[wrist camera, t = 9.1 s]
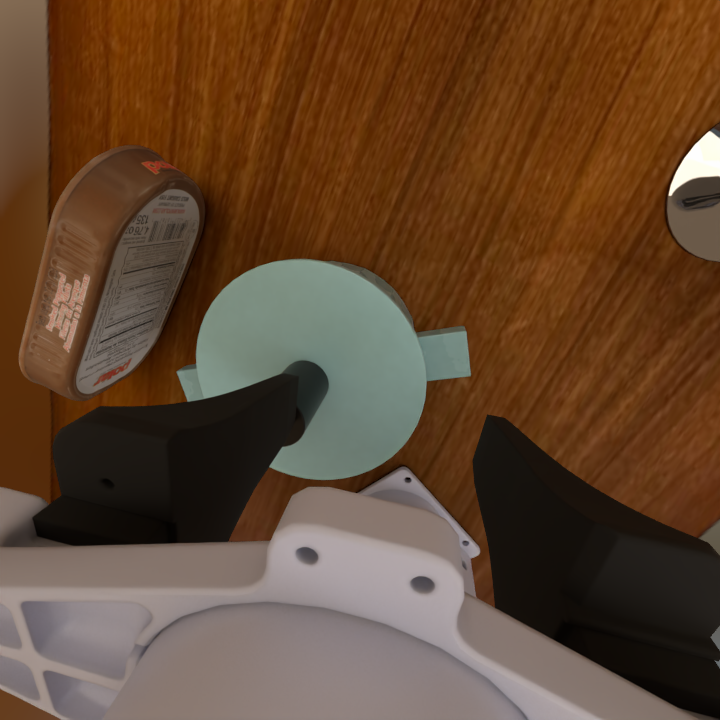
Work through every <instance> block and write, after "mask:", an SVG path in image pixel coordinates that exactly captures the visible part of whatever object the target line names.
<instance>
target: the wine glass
mask: <svg viewBox="0 0 720 720" xmlns="http://www.w3.org/2000/svg"><path fill="white" fill-rule="evenodd" d="M666 218H667V224H668V226H669V229H670V232H671V234H672V236H673V237H674V239H675V240H676V242H677V243H678V244H679V245H680V246H681V247H682V248H683V249H684V250H685V251H687V252H688V253H690V254H692V255H694V256H695V257H698V258H701V259H704V260H707V261H714V262H720V122H719V123H718V124H717V125H715V126H714V127H713V128H711V129H710V130H709V131H707V132H706V133H705V134H704V135H703V136H702V137H701V138H700V139H699V140H698V141H697V142H696V143H695V144H694V145H693V146H692V147H691V148H690V150H689V151H688V152H687V153H686V155H685V156H684V157H683V159H682V160H681V162H680V164H679V166H678V167H677V169H676V171H675V173H674V175H673V178H672V180H671V182H670V185H669V189H668V193H667V198H666Z"/></svg>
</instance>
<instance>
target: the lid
mask: <svg viewBox="0 0 720 720" xmlns="http://www.w3.org/2000/svg"><path fill="white" fill-rule="evenodd" d="M196 368H197V374H198V380H199V384H200V387H201V390H202V394H203V396H204V399H206V398H210V397H215V396H218V395H222V394H226V393H229V392H232V391H235V390H238V389H241V388H244V387H247V386H250V385H252V384H255V383H258V382H260V381H263V380H265V379H268V378H271V377H273V376H276V375H279V374H283V373H286V374H291V375H296V376H299V383H298V395H297V406H296V417H295V423H294V425H293V427H292V430H291V432H290V434H289V436H288V438H287V440H286V442H285V443H284V445H283V447H282V448H281V450H280V451H279V453H278V454H277V456H276V457H275V459H274V460H273V462H272V463H271V465H270V466H269V467H271V468H273V469H275V470H277V471H280V472H283V473H286V474H289V475H292V476H296V477H301V478H306V479H315V480H334V479H343V478H348V477H352V476H356V475H359V474H362V473H365V472H367V471H370V470H372V469H374V468H376V467H377V466H379V465H381V464H383V463H384V462H385V461H387V460H388V459H390V458H391V457H392V456H393V455H394V454H396V453H397V452H398V451H399V450H400V449H401V448H402V447H403V445H404V444H405V443H406V442H407V440H408V439H409V438H410V436H411V435H412V433H413V431H414V429H415V428H416V426H417V424H418V421H419V419H420V416H421V414H422V411H423V406H424V402H425V397H426V383H427V381H426V367H425V361H424V356H423V351H422V348H421V345H420V342H419V340H418V337H417V334H416V332H415V330H414V329H413V327H412V325H411V323H410V321H409V319H408V318H407V317H406V315H405V314H404V312H403V311H402V310H401V308H400V307H399V306H398V305H397V303H396V302H395V301H394V300H393V299H392V298H391V297H390V296H389V295H388V294H387V293H386V292H385V291H383V290H382V289H381V288H380V287H378V286H377V285H376V284H375V283H373V282H372V281H370V280H369V279H367V278H365V277H364V276H362V275H361V274H359V273H357V272H354V271H352V270H350V269H348V268H346V267H343V266H340V265H337V264H333V263H330V262H326V261H320V260H313V259H289V260H281V261H275V262H272V263H268V264H265V265H261V266H258V267H256V268H254V269H252V270H249V271H247V272H245V273H244V274H242V275H241V276H239V277H237V278H236V279H234V280H233V281H232V282H231V283H230V284H228V285H227V286H226V287H225V288H224V289H223V290H222V291H221V292H220V293H219V295H218V296H217V297H216V298H215V300H214V301H213V302H212V304H211V306H210V307H209V309H208V311H207V312H206V314H205V317H204V319H203V322H202V324H201V327H200V331H199V335H198V339H197V349H196Z"/></svg>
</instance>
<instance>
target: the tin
mask: <svg viewBox="0 0 720 720" xmlns="http://www.w3.org/2000/svg"><path fill="white" fill-rule="evenodd" d="M204 220H205V202H204V198H203V195H202V192H201V190H200V189H199V187H198V186H197V184H196V183H195V182H194V181H193V180H192V179H190V178H189V177H188V176H187V175H185V174H184V173H183V172H181V171H180V170H178V169H176V168H175V167H173V166H172V165H170V164H169V163H167V162H166V161H164V160H163V158H162V157H161V156H160V155H158V154H157V153H156V152H154V151H153V150H151V149H149V148H146V147H143V146H137V145H126V146H120V147H117V148H113V149H111V150H109V151H106V152H104V153H102V154H100V155H99V156H97V157H95V158H94V159H92V160H91V161H90V162H89V163H87V164H86V165H85V166H84V167H83V168H82V169H81V170H80V171H79V172H78V173H77V174H76V175H75V177H74V178H73V179H72V180H71V181H70V182H69V184H68V185H67V187H66V188H65V190H64V191H63V193H62V194H61V196H60V198H59V200H58V202H57V204H56V206H55V209H54V211H53V214H52V217H51V221H50V225H49V228H48V233H47V238H46V242H45V246H44V251H43V255H42V259H41V263H40V268H39V272H38V276H37V281H36V285H35V290H34V293H33V298H32V301H31V306H30V310H29V314H28V317H27V321H26V326H25V330H24V334H23V338H22V341H21V346H20V351H19V365H20V368H21V371H22V373H23V375H24V376H25V377H26V378H27V379H29V380H30V381H32V382H34V383H37V384H42V385H44V386H45V387H47V388H49V389H51V390H53V391H55V392H56V393H58V394H60V395H62V396H64V397H67V398H69V399H72V400H76V401H86V400H89V399H91V398H92V397H94V396H96V395H98V394H100V393H102V392H104V391H105V390H107V389H108V388H110V387H111V386H113V385H114V384H116V383H118V382H119V381H121V380H123V379H124V378H126V377H127V376H129V375H130V374H131V373H132V372H133V371H134V370H135V369H136V368H137V367H138V366H139V365H140V364H141V363H142V361H143V360H144V359H145V358H146V356H147V355H148V354H149V352H150V351H151V350H152V348H153V347H154V345H155V343H156V342H157V340H158V338H159V337H160V335H161V332H162V330H163V328H164V325H165V323H166V321H167V319H168V316H169V314H170V311H171V309H172V307H173V304H174V302H175V300H176V297H177V295H178V292H179V290H180V288H181V285H182V283H183V280H184V278H185V275H186V273H187V271H188V268H189V266H190V263H191V261H192V258H193V256H194V253H195V251H196V248H197V246H198V243H199V240H200V237H201V234H202V231H203V227H204Z"/></svg>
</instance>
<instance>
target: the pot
mask: <svg viewBox="0 0 720 720" xmlns="http://www.w3.org/2000/svg"><path fill="white" fill-rule="evenodd" d="M326 262H330V263H333V264H337V265H340V266H343V267H346V268H348V269H350V270H352V271H354V272H357V273H359V274H361V275H362V276H364V277H365V278H367V279H369V280H370V281H372V282H373V283H375V284H376V285H377V286H378V287H380V288H381V289H382V290H383V291H385V292H386V293H387V294H388V295H389V296H390V297H391V298H392V299H393V300H394V301H395V302H396V303H397V305H398V306H399V307H400V308H401V310H402V311H403V312H404V314H405V315H406V317H407V318H408V319H409V321H410V323H411V325H412V327H413V329H414V325H413V319H412V317H411V315H410V314H409V311H408V310H407V308H406V306H405V304H404V302H403V301H402V299H401V298H400V297H399V295H398V294H397V293H396V291H395V290H394V289H393V288H392V287H391V286H390V285H389V284H388V283H386V282H385V281H384V280H383V279H381V278H380V277H379V276H377V275H375V274H374V273H372V272H370V271H368V270H367V269H365V268H362V267H359V266H355V265H352V264H348V263H342V262H336V261H326ZM416 334H417V337H418V340H419V342H420V345H421V348H422V351H423V356H424V361H425V367H426V381H432V380H440V379H449V378H458V377H467V376H471V372H470V362H469V352H468V342H467V333H466V330H465V327H464V326H458V327H451V328H444V329H438V330H431V331H424V332H417V333H416ZM177 374H178V377H179V380H180V382H181V385H182V388H183V390H184V393H185V395H186V398H187V401H188V402H189V401H196V400H201V399H204V396H203V394H202V390H201V387H200V384H199V380H198V374H197V368H196V364H193V365H187V366H185V367H183V368H181V369H180V370H178V371H177Z"/></svg>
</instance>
